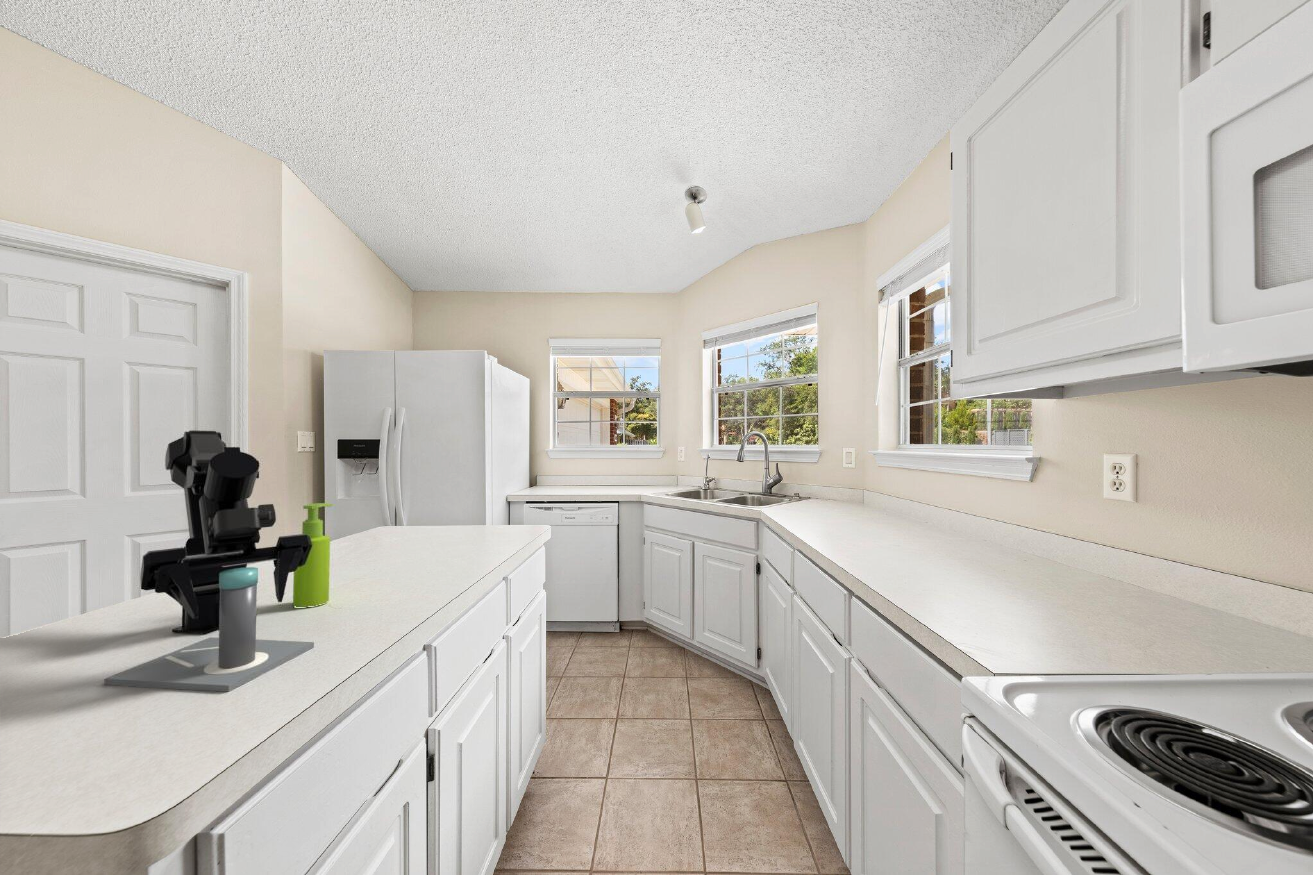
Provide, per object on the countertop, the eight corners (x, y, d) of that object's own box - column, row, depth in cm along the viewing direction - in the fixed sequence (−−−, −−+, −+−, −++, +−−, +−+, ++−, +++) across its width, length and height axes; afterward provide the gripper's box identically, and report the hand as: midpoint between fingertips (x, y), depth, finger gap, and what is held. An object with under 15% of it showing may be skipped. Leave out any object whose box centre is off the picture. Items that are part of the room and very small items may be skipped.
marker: (213, 663, 69) (215, 571, 69) (250, 653, 72) (252, 565, 73) (222, 671, 66) (224, 576, 67) (260, 660, 70) (262, 570, 70)
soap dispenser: (339, 598, 101) (341, 502, 102) (312, 609, 95) (315, 506, 95) (313, 597, 102) (315, 501, 102) (285, 607, 95) (287, 505, 95)
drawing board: (103, 684, 64) (104, 677, 64) (209, 642, 78) (209, 636, 78) (228, 691, 63) (228, 684, 63) (313, 647, 77) (314, 641, 77)
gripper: (144, 491, 65) (150, 590, 58) (309, 484, 79) (331, 562, 72) (138, 542, 70) (142, 639, 63) (294, 526, 84) (313, 604, 77)
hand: (240, 608), depth 69 cm, fingers open, 9 cm apart
